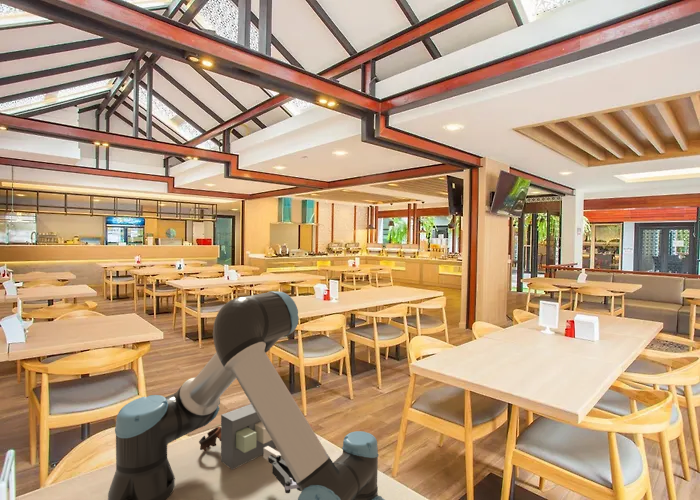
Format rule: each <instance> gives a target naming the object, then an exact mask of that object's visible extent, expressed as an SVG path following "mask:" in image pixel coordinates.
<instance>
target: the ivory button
mask: <svg viewBox="0 0 700 500" xmlns="http://www.w3.org/2000/svg"><path fill="white" fill-rule="evenodd" d="M255 432H256V440H258V441H259V442H261V443H263V444H264V443H267V442H269V441H271V440H272V439H271V437H270V435H269V434H268V432H267V430H266V429H265V427H264V425H263V423H262V422H261V421H259V422H257V423H255Z"/></svg>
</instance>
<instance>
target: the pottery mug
mask: <svg viewBox="0 0 700 500" xmlns="http://www.w3.org/2000/svg"><path fill="white" fill-rule="evenodd" d="M217 439H219V442H221V426H217V427H215V428H212V430H210V431H208V432H207V437H206V436H205V435H203V436H202V437H201V438H200V439H199V441H198V443H199V445H200V447H199V449H200V450H199V451H201V450H202V451H204V452H207V449H209V448H210V447H216V446H217Z"/></svg>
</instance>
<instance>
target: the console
mask: <svg viewBox="0 0 700 500" xmlns="http://www.w3.org/2000/svg"><path fill="white" fill-rule="evenodd" d="M220 420H221V421H220V427H221V441H220V463H222V464H224V465H225V466H226V467H228V468H230V470H234V469H237V468H238V467H240V466H242V465H244V464H247V463H248V462H251V461H253V460H255V459H256V458H258V457H261V456H264V447H267V446H269V447H271V448H273V449H274V450H276V449H277V447H276V446H275V444H274V442H273V441H272V440H271V441H269V442H267V443H264V444H263V443H261V442H259V441H258V440H256V448H254V449H252V450H250V451H248V452H245V453H244V452H242V451H241V450H239V449H237V448H236V431H238V430H240V429H243V428H245V427H248V428H250V429H251V430H253V431H255V423H257V422H259V421H261V420H260V418H259V416H258V415H257V413H256V411H255V410H254V408H253V406H252V404H251V403H249V404H247V405H244V406H242V407H239V408H236V409H233V410H231V411H228V412H225V413H222V414H220Z"/></svg>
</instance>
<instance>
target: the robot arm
mask: <svg viewBox="0 0 700 500" xmlns="http://www.w3.org/2000/svg"><path fill="white" fill-rule="evenodd" d="M298 324H299V310H298V307H297V304H296V301H294V299H293V298H292V297H291V296H290V295H289V294H287V293H286V292H283V291H273V290H272V291H268V292H265V293H258V294H253V295H246V296H239V297H235V298H233V299H230V300H228V301H227V302H226V303H225V304H224V305H222V307H221V308H220V309H219V311H218V312H217V314H216V316H215V319H214V323H213V327H212V328H213V329H212V330H213V331H212V338H213V344H214V349H215V351H216V352H215V353H214V354H213V356H212V357H211V358H210V359H209V360H208V362H207V363H206V364H205V365H204V367H203V368H202V369H201V370H200V372H199V373H198V374H197V375H196V377H190V378H189V379H187V380H186V381H184V382H183V384H182V385H181V386H180V387H179V388H178V389H177V391H175V392H173V394H170V395H167V396H164V395H160V394H152V395H148V396H142V397H138V398H136V399H134V400H132V401H129V402H128V403H127V404H125V405H124V406H123V407H122V408H120V410H119V411H118V413H117V415H116V418H115V419H116V420H115V427H114V432H115V472H114V475H113V478H112V480H111V484H110V487H109V489H108V493H107V500H167V499H168V498H169V497H170V496H171V495H172V493H173V492H174V490H175V485H176V484H175V483H176V482H175V481H176V479H175V475H174V472H173V469H172V467H171V464H170V461H169V459H168V445H169V444H170V443H172V442H174V441H176V440H177V439H180V438H182V437H184V436H186V435H189V434H190V433H192V432H194V431H196V430H198V429H200V428H203V427H205V426H207V425H209V424H210V423H211V422H212V421H213V420H214V419H215V418H216V417H217V415H218V414H219V411H220V405H221V401H220V400H221V396H222V395H223V393H225V391H227V389H229V387H230V386H231V385H232V383H234V381H236V380H237V382H238V384H239V385H240V387H241V389H242V391H243V392H244V394H245V396H246V397H247V399H248V400H249V402H250V403H249V404H252V406H253V408H254V410H255V411H256V413H257V415H258V416H259V418H260V420H261V422H262V423H263V425H264V427H265V429H266V430H267V432H268V434H269V435H270V437H271V439H272V441H273V442H274V444H275V446H276V447H277V448H276V449H273V448H271V447H269V446H267V447H264V454H263V459H265V460H267V462H268V464H270V465H272V467H271V468H272V469H271V470H272V471H271V474H272V475H273V476H274V477H275V478H276V479H277V480H278V482H279V483H280V485H282V487H283V488H284V492H285V494H290V493H291V490H297V491H299V492H300V494H299V495H298V498H297V500H386V499H385V498H383V497H382V496H381V495H379V494H378V493H379V492H378V489H379V488H378V487H379V486H378V471H379V470H378V466H379V461H378V460H379V451H378V449H379V448H378V441H377V438H376V437H375V436H374V435H373V434H372V433H370V432H366V431H362V430H361V431H360V430H357V431H351V432H349V433H348V434H346V435H345V436H344V438H343V442H342V447H341V448H342V453H341V455H340V456H339V457H337V459H335V461H333V460H332V459H331V457H330V456H329V454H328V453H327V451H326V450H325V447H324V446H323V444H322V443H321V441H320V440H319V437H318V436H317V434H316V433H315V431H314V430H313V428H312V426H311V425H310V423H309V422H308V420H307V418H306V416H305V415H304V413H303V412H302V410H301V409H300V407H299V405H298V403H297V402H296V400H295V398H294V397H293V395H292V393H291V392H290V391H289V389H288V387H287V386H286V383H284V380H283V379H282V377H281V375H280V374H279V372H278V371H277V369H276V367H275V366H274V364H273V362H272V361H271V359H270V357H269V356H268V354H267V353H268V352H269V351H270V350H271V349H272V348H273V347H274V345H275V344H276V343H277V342H278V341H280V339H281V338H283V337H288V336H289V335H291V334H292V333H293V332H295V330H296V328H297V327H298Z"/></svg>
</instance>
